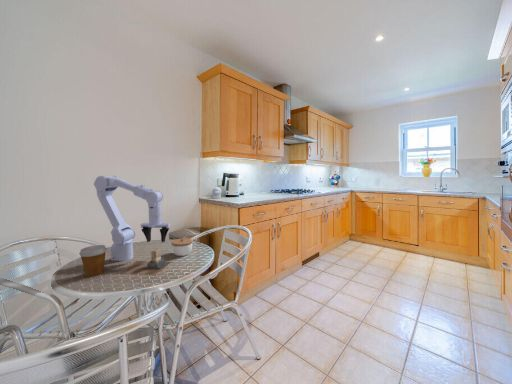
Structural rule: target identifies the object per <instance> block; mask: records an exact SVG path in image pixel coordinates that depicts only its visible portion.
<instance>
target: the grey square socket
mask: <svg viewBox="0 0 512 384" xmlns="http://www.w3.org/2000/svg"><path fill="white" fill-rule="evenodd" d="M148 261H149V262H148V263H147V266H146V267H145V269H160V268H162V267H163V266H164V265H165V264H166V263H167V262H168V261H165V257H161V260H160V261H158V262H157V263H152V262H151V260H148Z"/></svg>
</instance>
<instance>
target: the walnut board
mask: <svg viewBox="0 0 512 384" xmlns="http://www.w3.org/2000/svg"><path fill="white" fill-rule="evenodd" d="M149 261H150V260H135V261H134V262H132V263H131V264H129V265H128V266H126V267H125V268H123V269H121V270H120V271H118V272H116V274H117V275H150V276H153V275H154V276H157V275H159V274H160V272H162V271H163V270H164V269H165V268H166V267H168V265H169V264H171V263H172V261H166V262H167V263H166V264H165V265H164V266H163V267H162V268H160V269H145V267H146V266H147V263H148V262H149Z"/></svg>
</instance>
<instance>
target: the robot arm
mask: <svg viewBox="0 0 512 384" xmlns="http://www.w3.org/2000/svg"><path fill="white" fill-rule="evenodd" d="M93 185H94V187H95V190H96V197H97V198H98V200H99V202H100V204H101V206H102V209H103V210H104V213H105V214H106V217H107V218H108V220H109V222H110V225H111V226H112V230H111V231H110V234H111V238H112V239H111V240H112V242H113V243H112V245H111V246H110V261H118V262H124V261H125V262H126V261H129V260H132V259H134V242H133V241H134V239H135V238H136V231H135V230H134V228H132V227H131V225H130V224H128V223H126V222H125V220H124V219H123V216H122V214H121V212H120V210H119V208H118V206H117V204H116V202H115V200H114V198H113V196H112V195H113V193H114V192H115V191H116V189H117V188H122V189H124V190H127V191H130V192H131V193H133V196H136V197H137V198H140V199H142V200H145V201H146V203H147V207H148V222H142V223H140V228H141V231H142V233H143V235H144V236H145V240H146V242H147V243H149V242H151V241H152V229H153V228H155V229H156V228H157V229H159V232H160V236H161V237H160V238H161V239H160V240H161V241H160V242H161V243H165V242H166V238H167V234H168V231H169V230H170V228H171V223H167V222H165V223H164V222H162V201H163V198H164V196H163V193H162V192H160V190H154V189H153V188H148V187H146V186H145V185H144V184H137V185H135V184H133V183H131V182H130V181H128V180H125V179H123V178H121V177H118V176H116V175H109V176H108V175H107V176H106V175H105V176H104V175H99V176H97V177H96V179H95V180H94V182H93Z"/></svg>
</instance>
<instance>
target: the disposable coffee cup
mask: <svg viewBox="0 0 512 384" xmlns="http://www.w3.org/2000/svg"><path fill="white" fill-rule="evenodd" d="M107 249H108V248H107V247H106V245H104V244H98V245H97V244H96V245H90V246H86V247H84V248H81V249H80V252H79V253H78V254H79V256H80V257H81V258H80V259H81V262H82V266H83V270H84V275H85V277H89V278H90V277H97V276H99V275H101V274H103V273H104V271H105V261H106V252H107Z"/></svg>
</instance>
